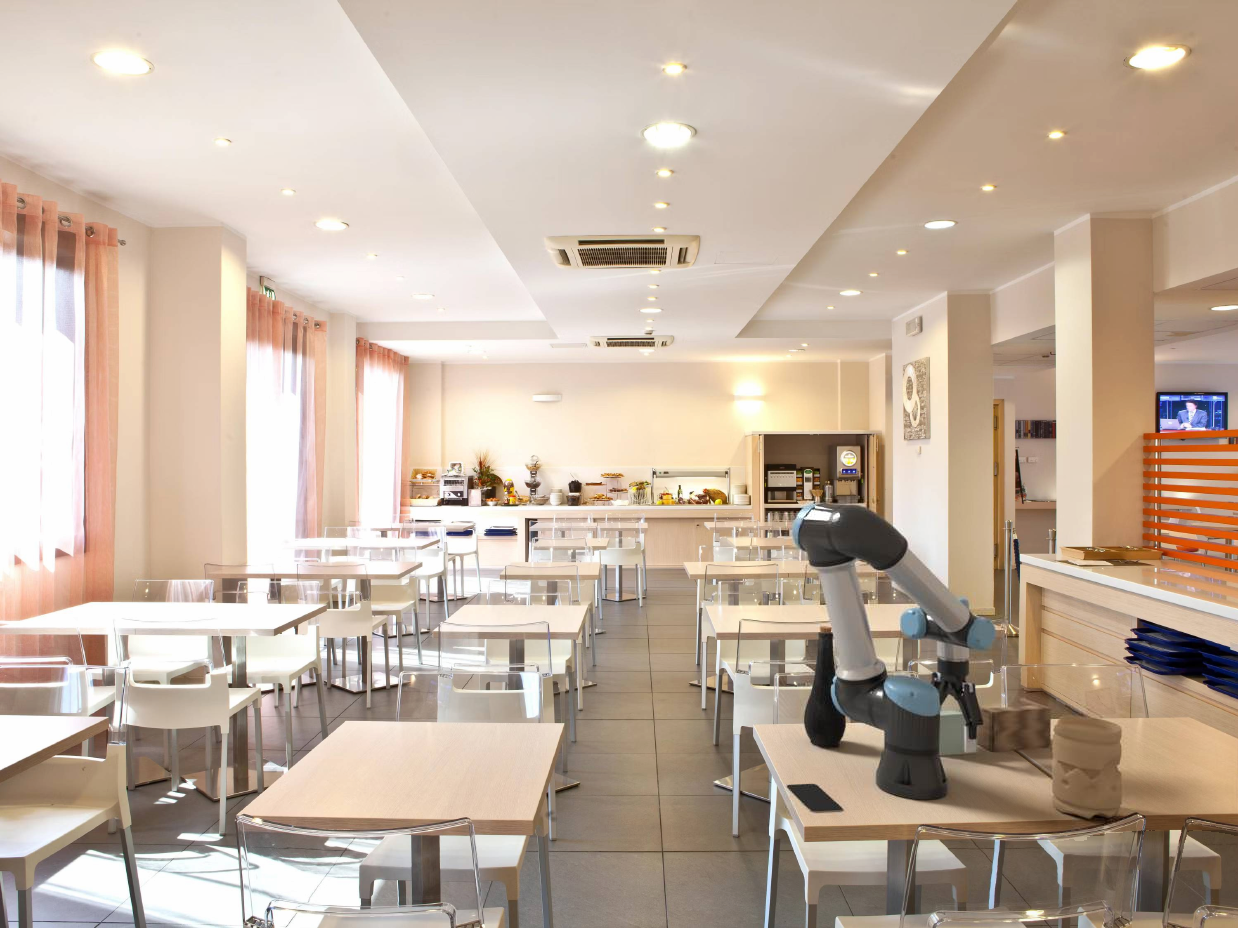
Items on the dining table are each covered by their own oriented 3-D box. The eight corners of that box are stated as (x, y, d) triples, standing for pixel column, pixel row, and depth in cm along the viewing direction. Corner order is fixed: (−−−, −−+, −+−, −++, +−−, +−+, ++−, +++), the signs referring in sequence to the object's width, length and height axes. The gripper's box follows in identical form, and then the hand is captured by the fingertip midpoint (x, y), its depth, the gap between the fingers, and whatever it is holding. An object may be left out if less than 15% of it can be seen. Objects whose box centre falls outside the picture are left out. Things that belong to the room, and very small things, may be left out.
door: (935, 755, 205) (936, 715, 205) (928, 751, 208) (928, 711, 208) (977, 752, 208) (977, 712, 208) (968, 748, 211) (968, 709, 211)
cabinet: (991, 751, 208) (991, 711, 209) (952, 733, 223) (952, 696, 224) (1050, 746, 213) (1050, 707, 213) (1007, 729, 228) (1008, 692, 228)
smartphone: (815, 783, 184) (844, 809, 169) (815, 786, 184) (844, 812, 169) (784, 784, 183) (810, 810, 168) (784, 787, 183) (810, 814, 168)
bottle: (850, 741, 215) (852, 626, 215) (838, 752, 206) (839, 632, 206) (811, 734, 220) (812, 622, 221) (797, 744, 212) (799, 627, 212)
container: (1056, 816, 168) (1057, 728, 168) (1048, 795, 179) (1048, 712, 180) (1127, 826, 163) (1127, 735, 164) (1114, 803, 175) (1114, 719, 175)
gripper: (999, 668, 197) (999, 758, 197) (935, 647, 221) (935, 728, 221) (972, 669, 196) (972, 760, 195) (911, 648, 219) (910, 729, 219)
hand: (952, 743), depth 208 cm, fingers open, 12 cm apart
